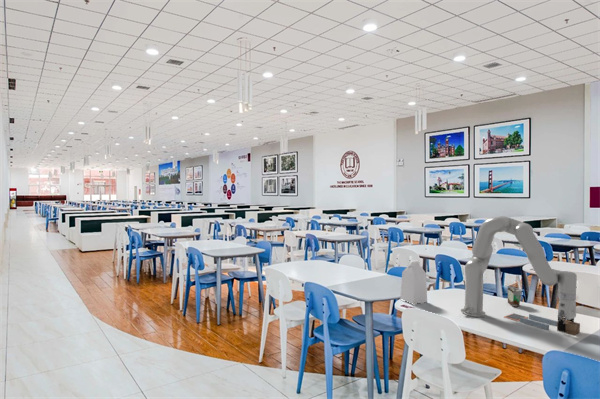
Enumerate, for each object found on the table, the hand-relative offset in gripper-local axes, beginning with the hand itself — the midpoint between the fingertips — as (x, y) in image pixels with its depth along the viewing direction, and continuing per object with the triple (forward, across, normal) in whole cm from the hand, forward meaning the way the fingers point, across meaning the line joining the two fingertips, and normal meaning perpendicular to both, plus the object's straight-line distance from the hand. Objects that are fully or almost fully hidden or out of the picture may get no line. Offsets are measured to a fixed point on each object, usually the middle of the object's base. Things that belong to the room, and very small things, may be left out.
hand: (565, 328), depth 197 cm
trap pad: (+1, 0, +25) cm, 25 cm away
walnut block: (+2, +1, -1) cm, 2 cm away
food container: (+2, +24, +37) cm, 44 cm away
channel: (+1, 0, +13) cm, 13 cm away
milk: (+2, -24, +77) cm, 81 cm away
